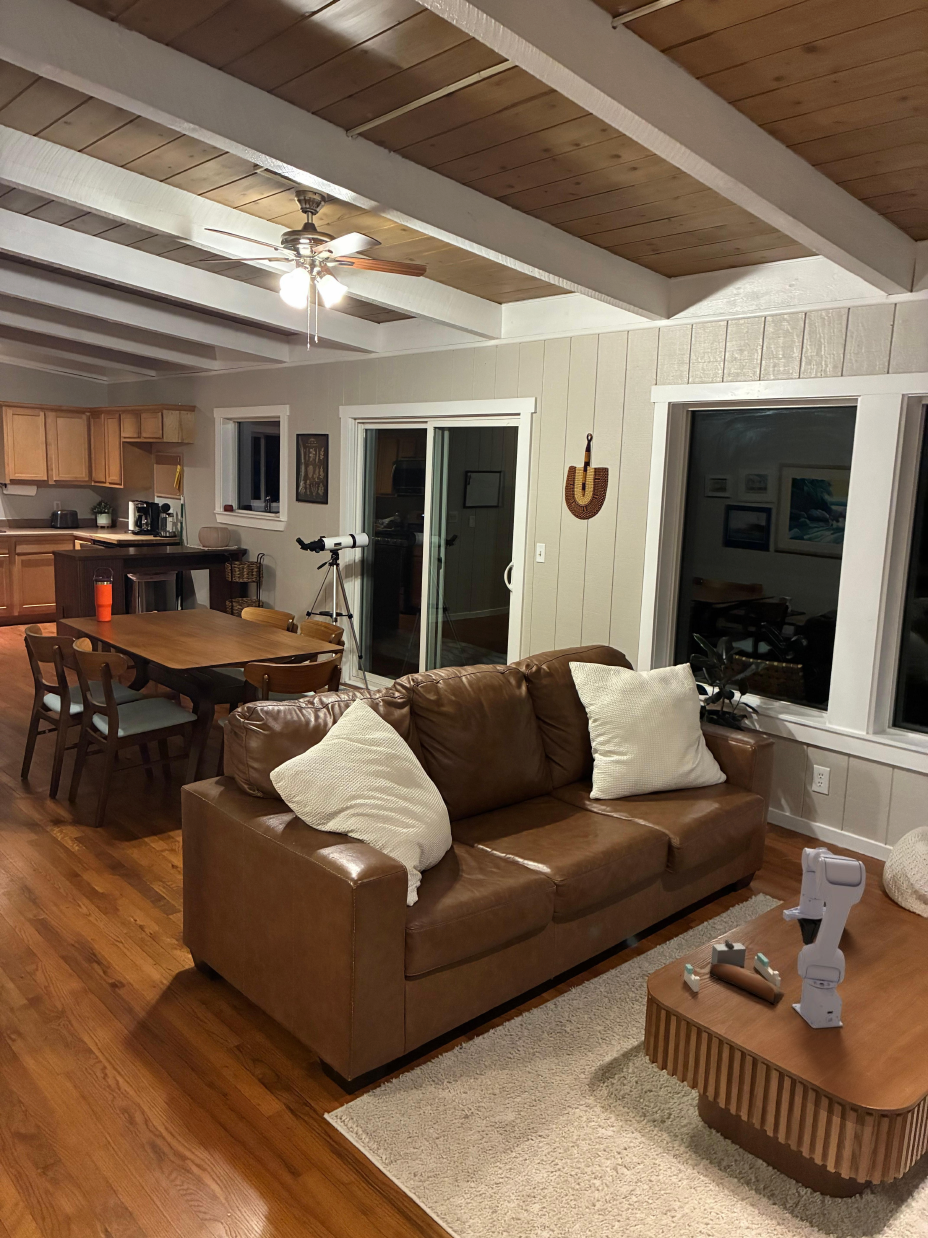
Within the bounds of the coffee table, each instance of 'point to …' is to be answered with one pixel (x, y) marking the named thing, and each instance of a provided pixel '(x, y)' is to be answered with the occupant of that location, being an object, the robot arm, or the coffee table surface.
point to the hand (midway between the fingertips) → (807, 944)
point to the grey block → (729, 954)
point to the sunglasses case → (747, 981)
